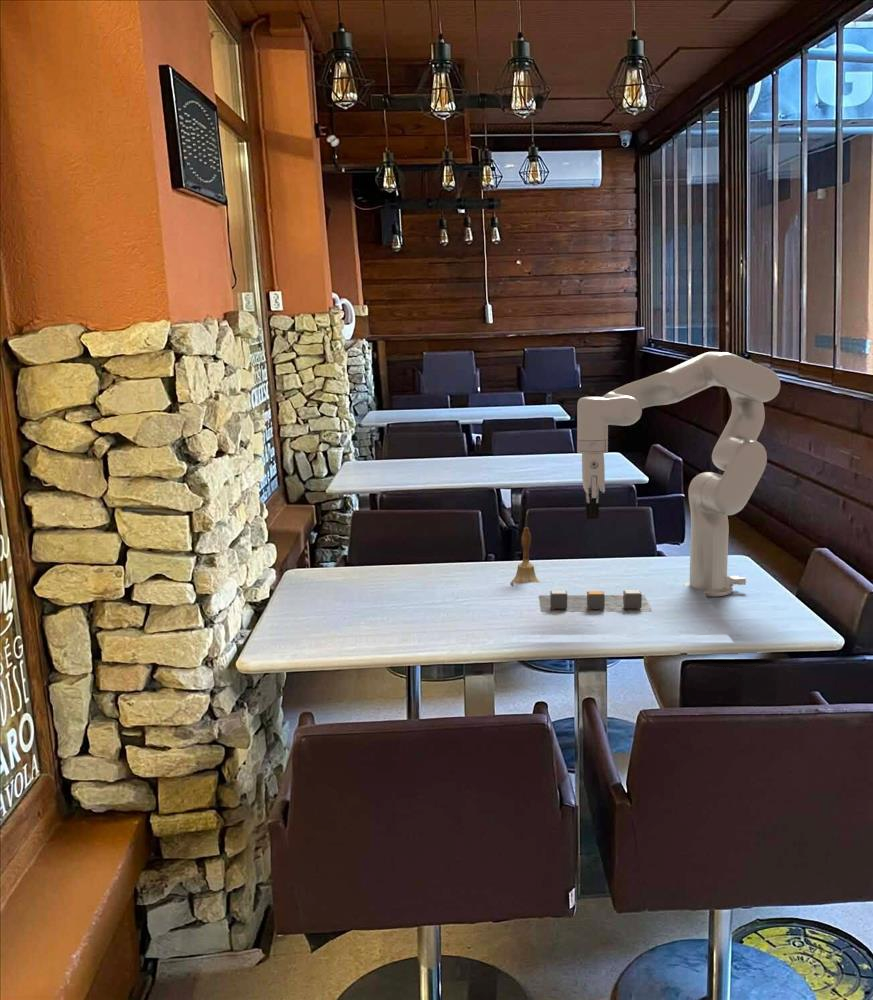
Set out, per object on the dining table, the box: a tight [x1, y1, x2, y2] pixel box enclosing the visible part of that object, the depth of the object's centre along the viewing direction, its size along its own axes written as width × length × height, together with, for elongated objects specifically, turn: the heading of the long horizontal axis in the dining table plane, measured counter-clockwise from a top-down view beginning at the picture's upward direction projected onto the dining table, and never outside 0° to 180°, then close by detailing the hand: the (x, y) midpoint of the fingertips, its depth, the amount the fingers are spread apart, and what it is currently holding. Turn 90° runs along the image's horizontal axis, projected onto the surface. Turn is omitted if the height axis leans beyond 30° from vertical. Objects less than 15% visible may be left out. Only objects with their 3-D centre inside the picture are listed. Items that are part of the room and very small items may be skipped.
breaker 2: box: [622, 589, 643, 608], centre depth 231 cm, size 4×3×4 cm
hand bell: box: [510, 526, 541, 586], centre depth 260 cm, size 8×8×16 cm
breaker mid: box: [586, 590, 606, 609], centre depth 232 cm, size 4×3×4 cm
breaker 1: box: [549, 590, 568, 608], centre depth 233 cm, size 4×3×4 cm
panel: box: [538, 594, 653, 613], centre depth 237 cm, size 27×14×2 cm, turn 86°
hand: (592, 518), depth 239 cm, fingers closed
